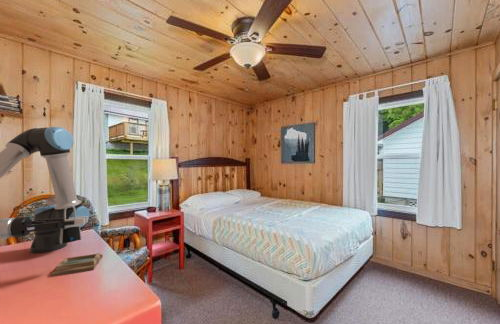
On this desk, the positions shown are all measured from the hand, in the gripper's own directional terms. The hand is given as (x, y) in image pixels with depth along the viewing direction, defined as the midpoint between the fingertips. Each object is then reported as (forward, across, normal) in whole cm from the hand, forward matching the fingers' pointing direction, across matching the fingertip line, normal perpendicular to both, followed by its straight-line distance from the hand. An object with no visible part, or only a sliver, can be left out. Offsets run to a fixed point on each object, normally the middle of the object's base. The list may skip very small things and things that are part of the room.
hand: (85, 220), depth 98 cm
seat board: (-3, -2, -20) cm, 20 cm away
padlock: (-5, 0, -8) cm, 10 cm away
